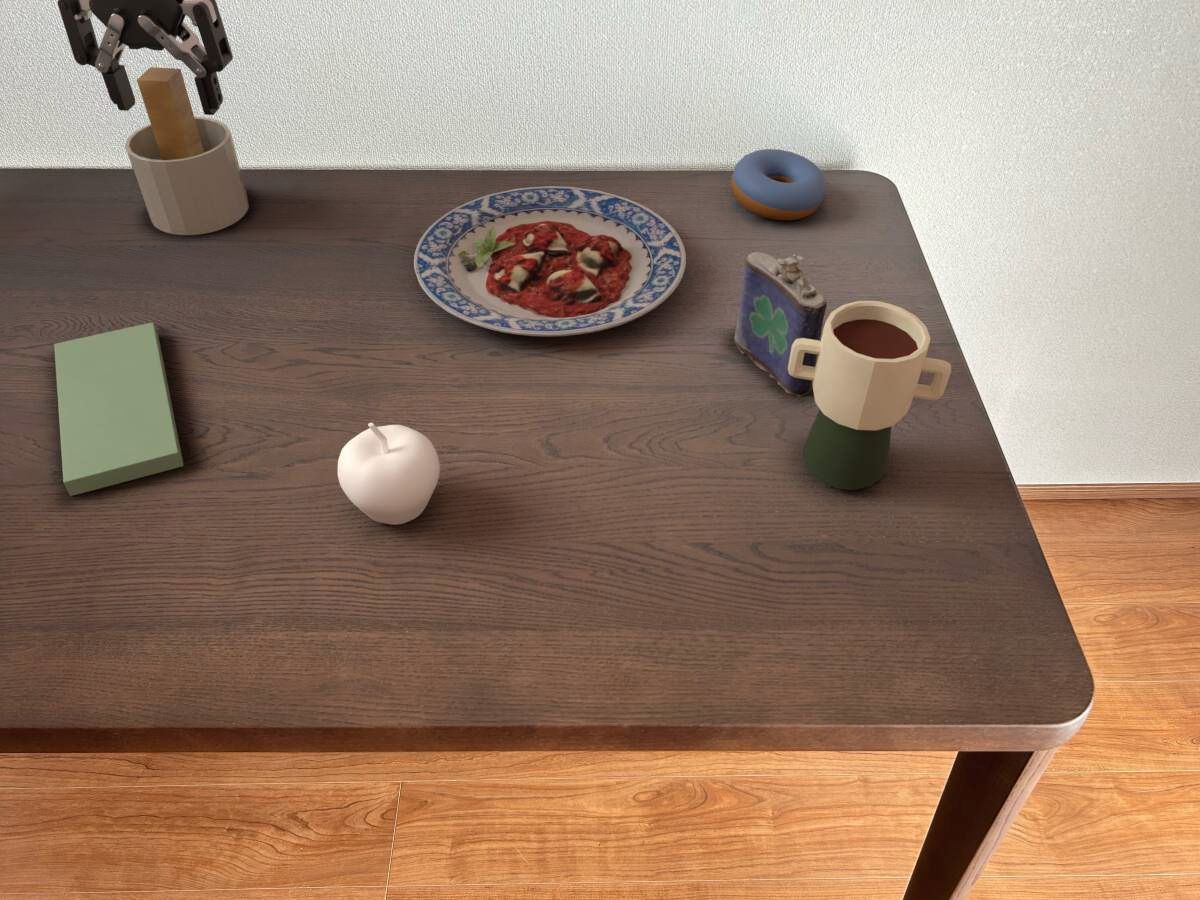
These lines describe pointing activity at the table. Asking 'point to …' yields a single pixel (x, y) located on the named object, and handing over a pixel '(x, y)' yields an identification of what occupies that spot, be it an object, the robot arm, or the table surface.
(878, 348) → the character mug
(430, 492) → the apple
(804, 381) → the flask
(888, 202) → the table surface
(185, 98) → the stick
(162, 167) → the tin
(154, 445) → the green rectangular block
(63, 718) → the table surface
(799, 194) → the doughnut
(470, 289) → the ceramic plate
